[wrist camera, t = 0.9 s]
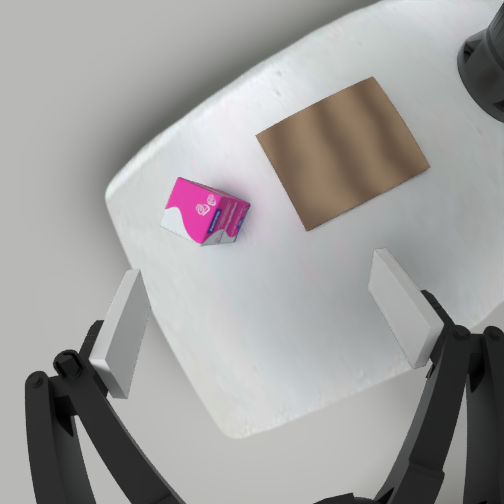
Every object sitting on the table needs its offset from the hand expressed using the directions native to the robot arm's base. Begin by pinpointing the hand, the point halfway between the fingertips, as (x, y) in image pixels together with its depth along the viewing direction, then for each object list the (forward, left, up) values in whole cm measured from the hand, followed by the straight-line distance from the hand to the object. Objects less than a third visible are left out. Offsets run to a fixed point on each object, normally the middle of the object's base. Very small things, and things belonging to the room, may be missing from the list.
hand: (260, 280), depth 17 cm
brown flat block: (-10, -9, -24) cm, 27 cm away
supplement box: (+8, -9, -24) cm, 27 cm away
